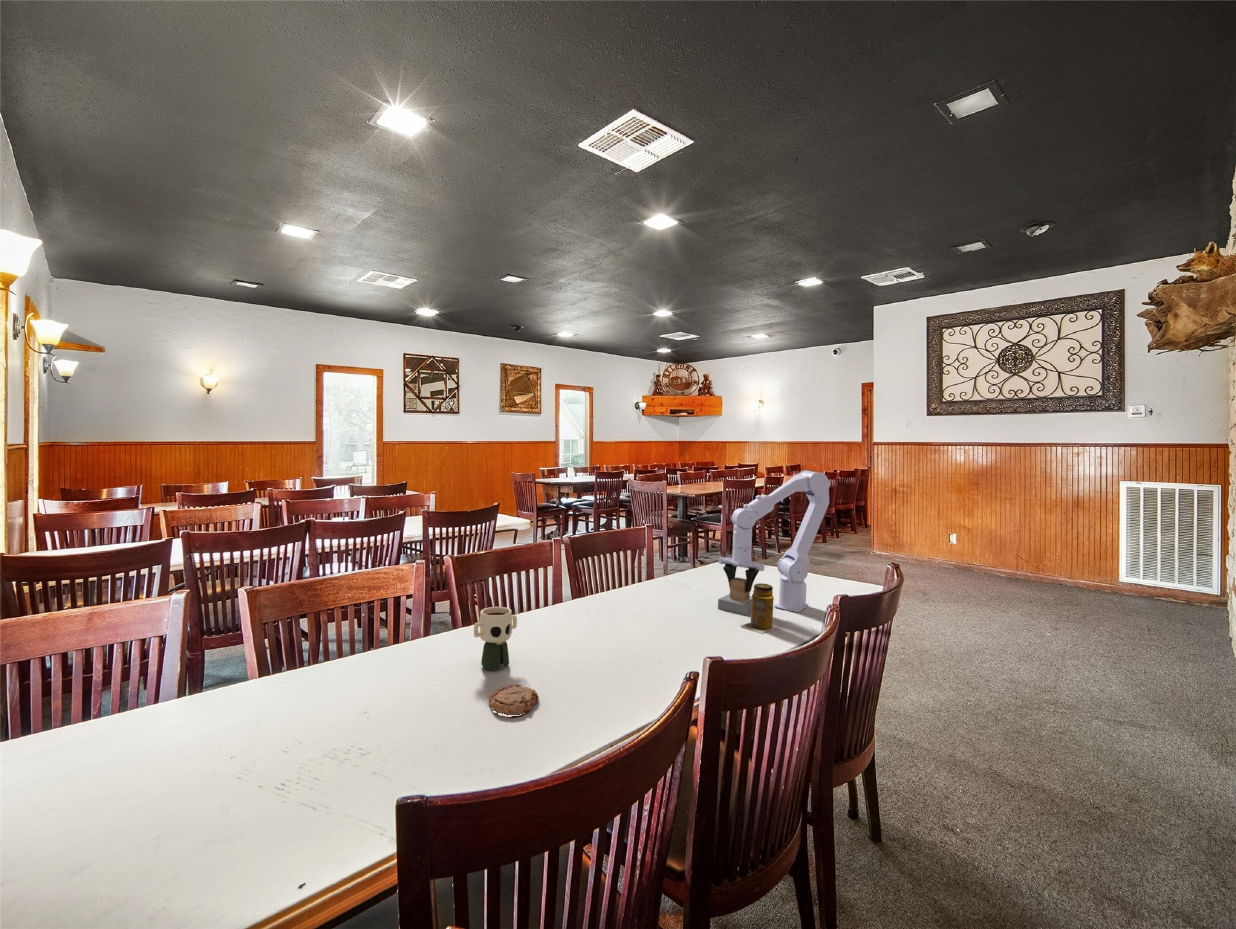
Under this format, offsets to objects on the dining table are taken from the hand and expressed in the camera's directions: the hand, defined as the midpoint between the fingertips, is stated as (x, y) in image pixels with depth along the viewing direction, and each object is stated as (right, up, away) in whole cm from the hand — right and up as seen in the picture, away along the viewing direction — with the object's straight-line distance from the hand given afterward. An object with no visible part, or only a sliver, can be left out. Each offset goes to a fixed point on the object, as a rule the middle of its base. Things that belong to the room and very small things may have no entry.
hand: (740, 589), depth 185 cm
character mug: (-67, -7, -50) cm, 83 cm away
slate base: (0, -6, 0) cm, 6 cm away
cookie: (-59, -9, -68) cm, 90 cm away
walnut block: (0, -3, 0) cm, 3 cm away
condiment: (+2, -7, -17) cm, 18 cm away
